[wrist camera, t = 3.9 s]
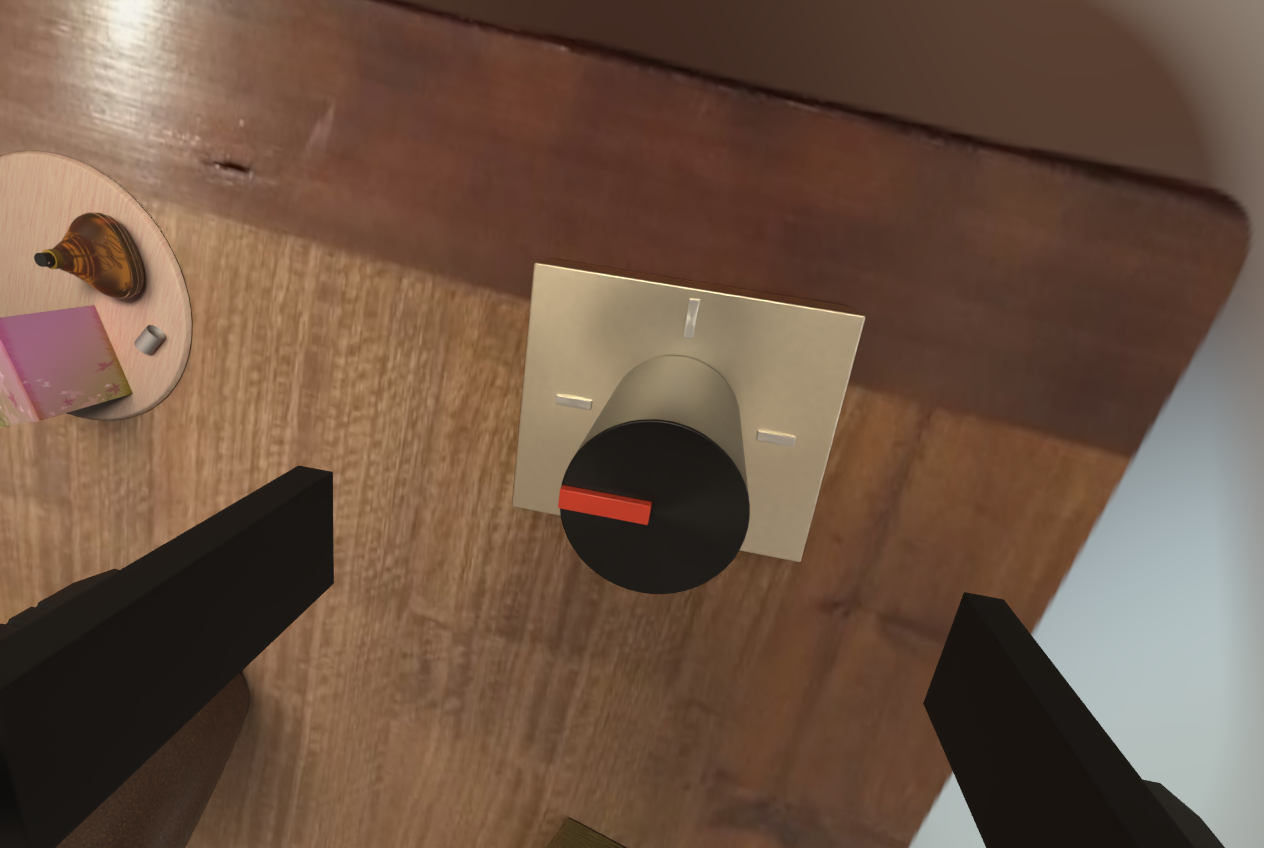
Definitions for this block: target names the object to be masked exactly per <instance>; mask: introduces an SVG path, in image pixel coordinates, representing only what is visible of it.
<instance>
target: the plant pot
mask: <svg viewBox="0 0 1264 848" xmlns="http://www.w3.org/2000/svg"><path fill="white" fill-rule="evenodd" d="M248 706H249V697H248V690H247V686H246V683H245V681H244V678H243V676H242V674H241V673H239V674H238V675H237V676H236V677H235V678H234V679H233V680H231V681H230V682H229V683H228V684H227V685H226V686H225V687H224V688H223V689H222V690H221V691H220V692H219V693H218V694H217V695H216V696H215V697H214V698H213V699H211V700H210V701H209V702H208V703H207V704H206V705H205V706H204V707H203V708H202V709H201V710H200V711H199V712H198V713H197V714H196V715H195V716H194V717H193V718H192V719H190V720H189V721H188V722H187V723H186V724H185V725H184V726H183V727H182V728H181V729H180V730H179V731H178V732H177V733H176V734H175V735H174V736H173V737H172V738H170V739H169V740H168V741H167V742H166V743H165V744H164V745H163V746H162V747H161V748H160V749H159V750H158V751H157V752H156V753H155V754H154V755H153V756H152V757H150V758H149V759H148V760H147V761H146V762H145V763H144V764H143V765H142V766H141V767H140V768H139V769H138V770H137V771H136V772H135V773H134V774H133V775H132V776H130V777H129V778H128V779H127V780H126V781H125V782H124V783H123V784H122V785H121V786H120V787H119V788H118V789H117V790H116V791H115V792H114V793H113V794H112V795H110V796H109V797H108V798H107V799H106V800H105V801H104V802H103V803H102V804H101V805H100V806H99V807H98V808H97V809H96V810H95V811H94V812H93V813H92V814H90V815H89V816H88V817H87V818H86V819H85V820H84V821H83V822H82V823H81V824H80V825H79V826H78V827H77V828H76V829H75V830H74V831H73V832H72V833H70V834H69V835H68V836H67V837H66V838H65V839H64V840H63V841H62V842H61V843H60V844H59V845H58V846H57V847H56V848H185V847H186V845H187V843H188V841H189V839H190V837H191V835H192V833H193V831H194V829H195V827H196V825H197V823H198V821H199V819H200V817H201V815H202V813H203V811H204V809H205V807H206V805H207V803H208V801H209V799H210V797H211V795H212V793H213V791H214V789H215V787H216V785H217V782H218V780H219V778H220V776H221V774H222V772H223V769H224V767H225V765H226V763H227V761H228V758H229V756H230V754H231V751H232V749H233V746H234V744H235V742H236V739H237V737H238V735H239V732H240V729H241V727H242V724H243V722H244V719H245V717H246V714H247V711H248Z"/></svg>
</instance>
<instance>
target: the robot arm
mask: <svg viewBox="0 0 1264 848" xmlns="http://www.w3.org/2000/svg"><path fill="white" fill-rule="evenodd" d="M333 584H334V563H333V472H330V471H325V470H319V469H314V468H309V467H303V466H297V467H295V468H294V469H292V470H290V471H288V472H287V473H285V474H283V475H282V476H280V477H278V478H276V479H275V480H273V481H271V482H270V483H268V484H266V485H265V486H263V487H261V488H259V489H258V490H256V491H254V492H253V493H251V494H249V495H247V496H246V497H244V498H242V499H241V500H239V501H237V502H236V503H234V504H232V505H230V506H229V507H227V508H225V509H224V510H222V511H220V512H218V513H217V514H215V515H213V516H212V517H210V518H208V519H207V520H205V521H203V522H201V523H200V524H198V525H196V526H195V527H193V528H191V529H189V530H188V531H186V532H184V533H183V534H181V535H179V536H177V537H176V538H174V539H172V540H171V541H169V542H167V543H166V544H164V545H162V546H160V547H159V548H157V549H155V550H154V551H152V552H150V553H148V554H147V555H145V556H143V557H142V558H140V559H138V560H137V561H135V562H133V563H131V564H130V565H128V566H126V567H125V568H123V569H121V570H117V569H112V570H109V571H107V572H104V573H101V574H98V575H95V576H92V577H89V578H87V579H84V580H81V581H78V582H75V583H73V584H71V585H69V586H67V587H65V588H64V589H62V590H60V591H58V592H57V593H55V594H53V595H51V596H49V597H48V598H46V599H44V600H42V601H41V602H39V603H38V605H37V607H36V608H35V607H30V608H28V609H26V610H25V611H23V612H21V613H19V614H18V615H16V616H14V617H12V618H10V619H9V621H8V623H7V624H6V625H5V624H0V848H56V847H57V846H58V845H59V844H60V843H61V842H62V841H63V840H64V839H65V838H66V837H67V836H68V835H69V834H70V833H72V832H73V831H74V830H75V829H76V828H77V827H78V826H79V825H80V824H81V823H82V822H83V821H84V820H85V819H86V818H87V817H88V816H89V815H90V814H92V813H93V812H94V811H95V810H96V809H97V808H98V807H99V806H100V805H101V804H102V803H103V802H104V801H105V800H106V799H107V798H108V797H109V796H110V795H112V794H113V793H114V792H115V791H116V790H117V789H118V788H119V787H120V786H121V785H122V784H123V783H124V782H125V781H126V780H127V779H128V778H129V777H130V776H132V775H133V774H134V773H135V772H136V771H137V770H138V769H139V768H140V767H141V766H142V765H143V764H144V763H145V762H146V761H147V760H148V759H149V758H150V757H152V756H153V755H154V754H155V753H156V752H157V751H158V750H159V749H160V748H161V747H162V746H163V745H164V744H165V743H166V742H167V741H168V740H169V739H170V738H172V737H173V736H174V735H175V734H176V733H177V732H178V731H179V730H180V729H181V728H182V727H183V726H184V725H185V724H186V723H187V722H188V721H189V720H190V719H192V718H193V717H194V716H195V715H196V714H197V713H198V712H199V711H200V710H201V709H202V708H203V707H204V706H205V705H206V704H207V703H208V702H209V701H210V700H211V699H213V698H214V697H215V696H216V695H217V694H218V693H219V692H220V691H221V690H222V689H223V688H224V687H225V686H226V685H227V684H228V683H229V682H230V681H231V680H233V679H234V678H235V677H236V676H237V675H238V674H239V673H240V672H241V671H242V670H243V669H244V668H245V667H246V666H247V665H248V664H249V663H250V662H251V661H253V660H254V659H255V658H256V657H257V656H258V655H259V654H260V653H261V652H262V651H263V650H264V649H265V648H266V647H267V646H268V645H269V644H270V643H271V642H273V641H274V640H275V639H276V638H277V637H278V636H279V635H280V634H281V633H282V632H283V631H284V630H285V629H286V628H287V627H288V626H289V625H290V624H291V623H293V622H294V621H295V620H296V619H297V618H298V617H299V616H300V615H301V614H302V613H303V612H304V611H305V610H306V609H307V608H308V607H309V606H310V605H311V604H313V603H314V602H315V601H316V600H317V599H318V598H319V597H320V596H321V595H322V594H323V593H324V592H325V591H326V590H327V589H328V588H329V587H330V586H331V585H333ZM923 704H924V706H925V708H926V711H927V713H928V715H929V718H930V720H931V722H932V724H933V727H934V729H935V731H936V734H937V736H938V738H939V740H940V743H941V745H942V747H943V750H944V752H945V754H946V757H947V759H948V761H949V763H950V766H951V768H952V770H953V773H954V775H955V777H956V779H957V782H958V784H959V786H960V788H961V791H962V793H963V795H964V798H965V800H966V802H967V805H968V807H969V809H970V812H971V813H972V816H973V818H974V821H975V823H976V825H977V828H978V830H979V832H980V834H981V837H982V839H983V841H984V844H985V846H986V848H1225V847H1224V846H1223V845H1222V843H1221V842H1220V841H1219V840H1218V839H1217V837H1216V836H1215V835H1214V834H1213V833H1212V831H1211V830H1210V829H1209V828H1208V826H1207V825H1206V824H1205V823H1204V821H1203V820H1202V819H1201V818H1200V817H1199V816H1198V815H1197V814H1196V813H1194V812H1193V811H1192V810H1191V809H1190V808H1189V807H1187V806H1186V805H1185V804H1184V803H1183V802H1181V801H1180V800H1179V799H1178V798H1177V797H1176V796H1174V795H1173V794H1172V793H1171V792H1170V791H1169V790H1167V789H1166V788H1165V787H1164V786H1163V785H1162V784H1160V783H1156V782H1151V781H1147V780H1142V779H1141V777H1140V776H1139V775H1138V773H1137V772H1136V771H1135V769H1134V768H1133V767H1132V766H1131V764H1130V763H1129V762H1128V760H1127V759H1126V758H1125V757H1124V755H1123V754H1122V753H1121V751H1120V750H1119V749H1118V747H1117V746H1116V745H1115V743H1114V742H1113V741H1112V740H1111V738H1110V737H1109V736H1108V734H1107V733H1106V732H1105V731H1104V729H1103V728H1102V727H1101V725H1100V724H1099V723H1098V721H1097V720H1096V719H1095V718H1094V717H1093V715H1092V714H1091V712H1090V711H1089V710H1088V709H1087V707H1086V706H1085V704H1084V703H1083V702H1082V701H1081V700H1080V698H1079V697H1078V696H1077V694H1076V693H1075V691H1074V690H1073V689H1072V688H1071V686H1070V685H1069V684H1068V682H1067V681H1066V680H1065V679H1064V677H1063V676H1062V675H1061V673H1060V672H1059V671H1058V669H1057V668H1056V667H1055V666H1054V664H1053V663H1052V662H1051V660H1050V659H1049V658H1048V656H1047V655H1046V654H1045V653H1044V651H1043V650H1042V649H1041V647H1040V646H1039V645H1038V643H1037V642H1036V641H1035V639H1034V638H1033V637H1032V636H1031V634H1030V633H1029V632H1028V630H1027V629H1026V628H1025V626H1024V625H1023V624H1022V623H1021V621H1020V620H1019V619H1018V617H1017V616H1016V615H1015V614H1014V612H1013V611H1012V610H1011V608H1010V607H1009V606H1008V604H1007V603H1006V602H1005V601H1004V600H1003V599H997V598H992V597H987V596H982V595H976V594H971V593H966V592H964V594H963V597H962V599H961V602H960V605H959V607H958V610H957V613H956V616H955V618H954V621H953V624H952V627H951V629H950V632H949V635H948V637H947V640H946V643H945V646H944V648H943V651H942V654H941V657H940V659H939V662H938V665H937V667H936V670H935V673H934V676H933V678H932V681H931V684H930V687H929V689H928V692H927V695H926V697H925V700H924V703H923Z"/></svg>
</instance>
